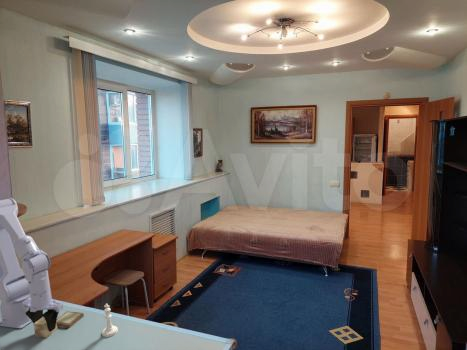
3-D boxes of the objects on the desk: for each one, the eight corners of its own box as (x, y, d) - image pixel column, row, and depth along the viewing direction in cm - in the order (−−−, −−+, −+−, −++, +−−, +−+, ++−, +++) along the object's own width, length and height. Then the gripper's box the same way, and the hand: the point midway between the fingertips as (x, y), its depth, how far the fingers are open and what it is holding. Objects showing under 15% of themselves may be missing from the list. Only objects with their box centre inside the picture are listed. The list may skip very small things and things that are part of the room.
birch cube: (35, 336, 104) (33, 323, 103) (46, 327, 108) (44, 315, 108) (46, 337, 103) (44, 325, 102) (57, 329, 107) (55, 317, 107)
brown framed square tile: (52, 325, 109) (51, 322, 109) (67, 314, 116) (67, 311, 116) (69, 328, 108) (68, 324, 107) (83, 316, 114) (83, 312, 114)
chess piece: (112, 337, 101) (109, 308, 100) (98, 336, 102) (95, 307, 101) (120, 328, 106) (117, 300, 105) (107, 327, 107) (104, 299, 106)
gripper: (11, 295, 102) (17, 333, 104) (48, 298, 98) (54, 339, 100) (30, 284, 108) (36, 321, 110) (65, 287, 105) (71, 325, 107)
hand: (46, 328), depth 106 cm, fingers closed on birch cube, 4 cm apart
